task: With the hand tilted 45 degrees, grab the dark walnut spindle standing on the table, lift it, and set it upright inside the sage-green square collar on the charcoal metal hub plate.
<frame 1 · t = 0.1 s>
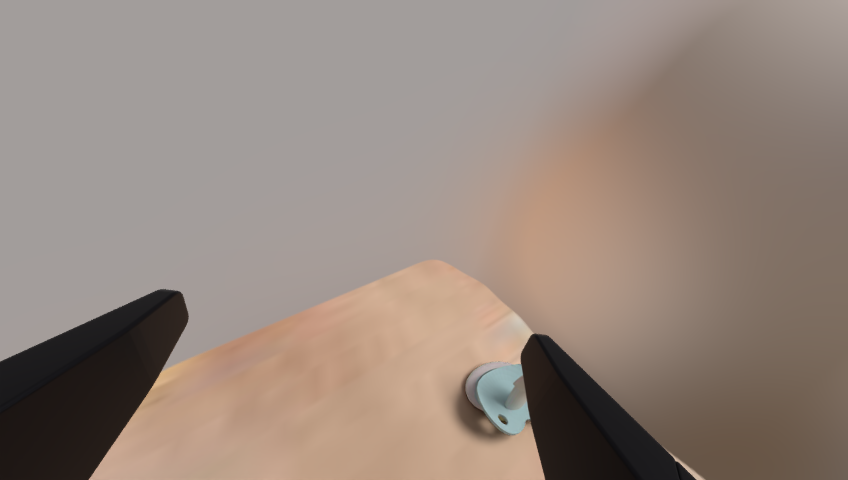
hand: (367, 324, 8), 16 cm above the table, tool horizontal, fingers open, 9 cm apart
pacifier: (502, 399, 26), on the table
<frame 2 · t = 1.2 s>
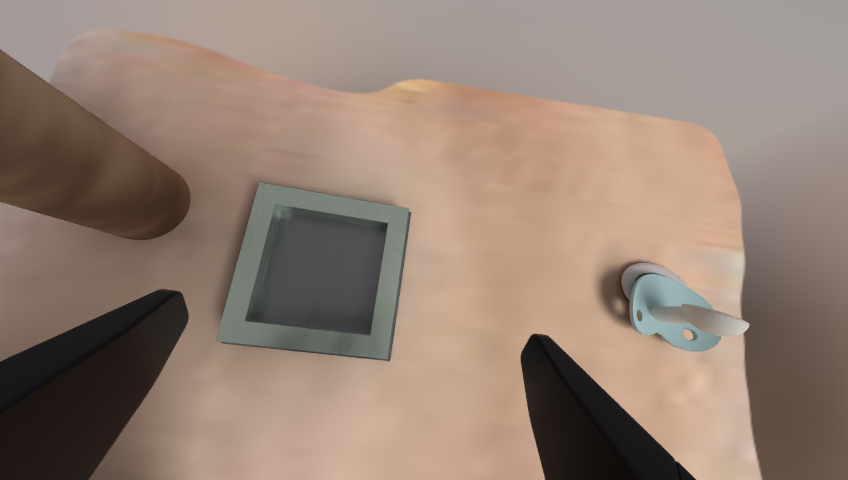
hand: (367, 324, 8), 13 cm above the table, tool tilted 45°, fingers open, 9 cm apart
hub plate: (326, 272, 20), on the table
spindle: (146, 201, 19), on the table
pacifier: (648, 302, 24), on the table
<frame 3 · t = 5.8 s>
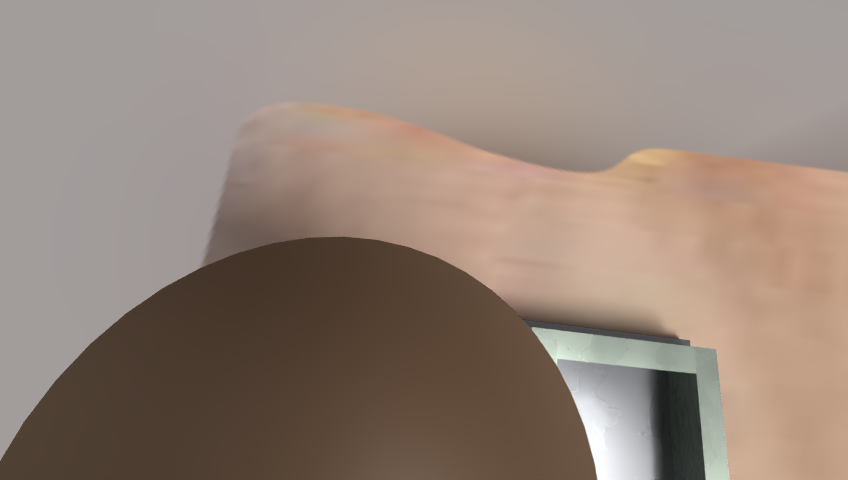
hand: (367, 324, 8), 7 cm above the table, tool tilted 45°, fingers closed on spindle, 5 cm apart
hub plate: (598, 435, 15), on the table
spindle: (365, 348, 14), on the table, touching gripper
when the fingers open (8 cm above the table, at t = 9.1 s): spindle drops 1 cm, resting on hub plate.
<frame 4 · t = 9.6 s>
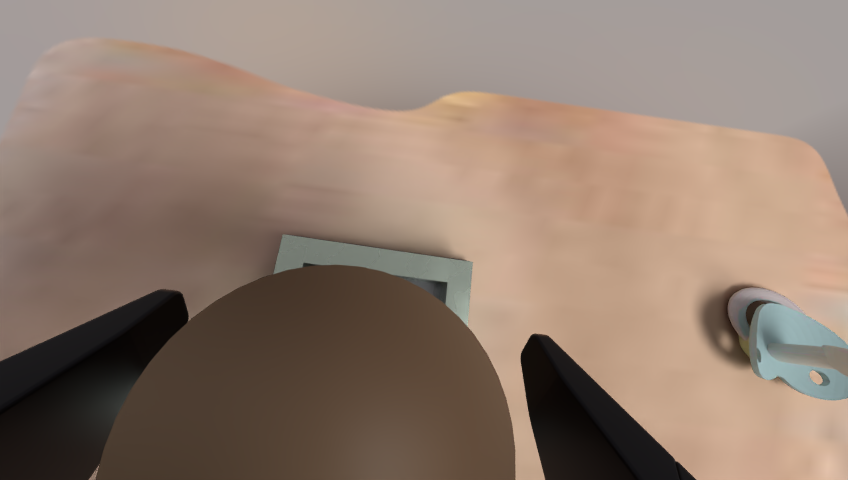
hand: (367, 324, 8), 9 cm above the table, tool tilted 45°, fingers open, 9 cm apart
hub plate: (367, 343, 16), on the table
spindle: (366, 346, 15), point 1 cm above the table, touching hub plate
pacifier: (758, 335, 20), on the table
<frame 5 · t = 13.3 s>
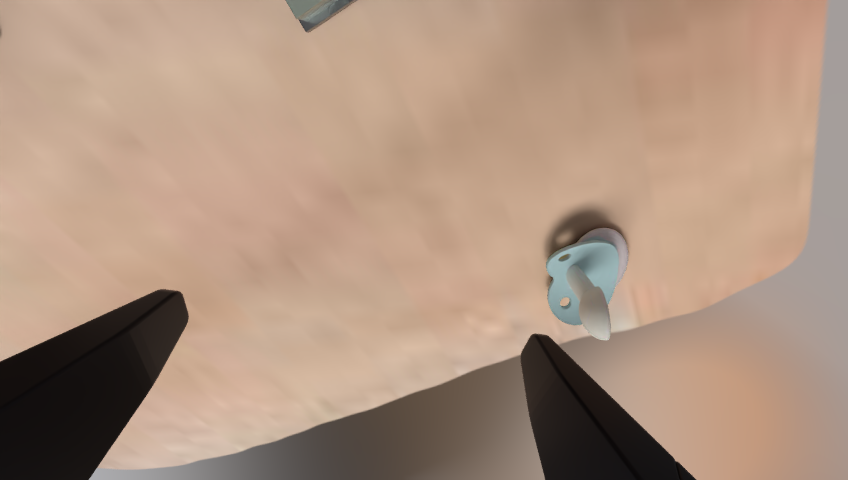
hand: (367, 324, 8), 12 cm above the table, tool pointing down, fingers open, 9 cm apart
pacifier: (580, 262, 23), on the table
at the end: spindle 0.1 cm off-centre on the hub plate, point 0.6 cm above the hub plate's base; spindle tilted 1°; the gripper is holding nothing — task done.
